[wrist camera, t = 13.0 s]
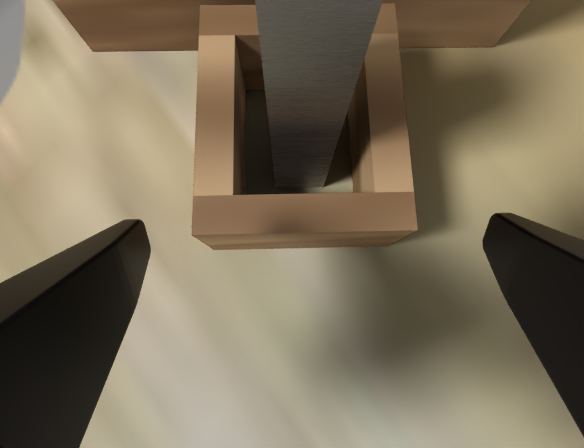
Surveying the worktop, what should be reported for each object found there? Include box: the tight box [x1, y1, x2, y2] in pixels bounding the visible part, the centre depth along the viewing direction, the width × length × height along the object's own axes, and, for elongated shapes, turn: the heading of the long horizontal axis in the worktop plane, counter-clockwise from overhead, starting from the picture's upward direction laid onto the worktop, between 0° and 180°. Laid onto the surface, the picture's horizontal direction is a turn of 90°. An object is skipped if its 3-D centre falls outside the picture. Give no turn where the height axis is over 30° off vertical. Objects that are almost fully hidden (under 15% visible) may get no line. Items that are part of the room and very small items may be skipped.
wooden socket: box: [53, 0, 531, 250], centre depth 13 cm, size 14×22×10 cm, turn 91°
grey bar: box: [255, 0, 383, 188], centre depth 12 cm, size 4×2×13 cm, turn 1°
